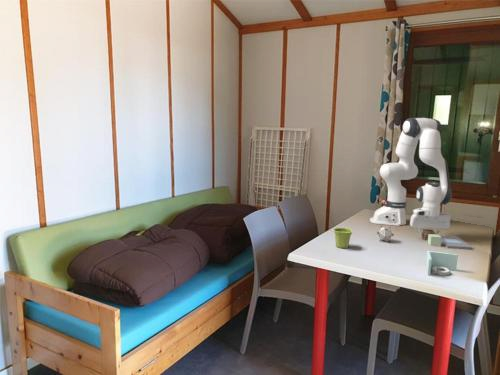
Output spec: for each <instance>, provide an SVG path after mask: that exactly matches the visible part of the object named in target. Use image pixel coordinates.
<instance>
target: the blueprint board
mask: <svg viewBox="0 0 500 375" xmlns="http://www.w3.org/2000/svg"><path fill="white" fill-rule="evenodd" d="M438 235H439V236H441V237H442V238H441V245H443V246H445V248H447V249H454V250H455V249H459V250H471V251H472V250H473V246H472V245H471V244H469V243H467V242H466V241H465V240H463V239H461V238H460V237H459V236H455V235H454V236H453V235H441V234H438Z"/></svg>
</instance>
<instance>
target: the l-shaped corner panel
mask: <svg viewBox="0 0 500 375" xmlns="http://www.w3.org/2000/svg"><path fill="white" fill-rule="evenodd" d="M425 258H426V260H425V269H427V270H426V274H427V276H431V272H432V271H433V272H432V273H433V274H435V273H436V275H439V276H444V277H446V276H449V275H451V271H454V272H455V271H457V268H458V267H457V265H458V258H459V254H456V253H448V252H442V251H434V250H433V251H432V250H427V251H426V257H425Z"/></svg>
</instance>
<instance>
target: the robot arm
mask: <svg viewBox="0 0 500 375" xmlns="http://www.w3.org/2000/svg"><path fill="white" fill-rule="evenodd" d="M401 128H402V131H401V133H400V135H399V138H398V141H397V143H396V144H397V145H396V147H395V154H396V156H397V157H398V158H399V161H398V162H388V163H384V164H382V165H381V166H380V169H379V175H380V177H381V178H382V179H383V180H384V182H385V184H386V186H387V199H386V200H385V199H383V200H382V201H381V203H383V206H381V207H379V208H377V209H376V210H375V211H374V214H373V216H372V217H370V218H369V222H371V223H372V224H375V225H376V224H377V225H386V226H394V227H395V226H397V227H400V226H403V225H406V224H407V220H406V209H407V201H406V200H407V188H405V187H404V186H402V183H401V181H402V180H406V181H408V180H411V179H415V178H416V177H418V176H417V175H418V174H419V168H418V166H417V165H416V163H415V161H414V160H415V154H416V149H417V146H418V143H419V147H418V156H419V159H420V160H421V162H422V163H424V164H426V165H427V166H431V167H433V168H435V169H436V171H438V174H439V182H436V181H428V182H426V183H425V185H422V186H419V187H418V188H417V189H416V194H415V199H416V200H417V201H418V202H419V203H421V204H422V206H421V207H418V208H415V209H413V210H412V213H413V214H412V215H411V216H410V221H409V226H410V228H413V229H417V230H418V232H419V236H420V237H422V236H423V229H428V230H436V231H435V234H436V235H440V233H441V232H442V230H444V231H445V230H450V229H451V218H452V216H451V214H450V213H448V212H442V211H441V205H443V206H446V205H447V204H449V203H450V202H451V201H452V199H453V194H452V193H453V191H452V188H451V184H450V183H451V182H450V174H449V166H448V162H447V160H446V158H444V157H443V154H442V151H441V150H442V149H441V148H442V140H441V133H440V132H441V131H442V124H441V122H440V120H438V119H434V118H429V117H409V118H407V119H405V120H404V121H403V124H402V127H401Z"/></svg>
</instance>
